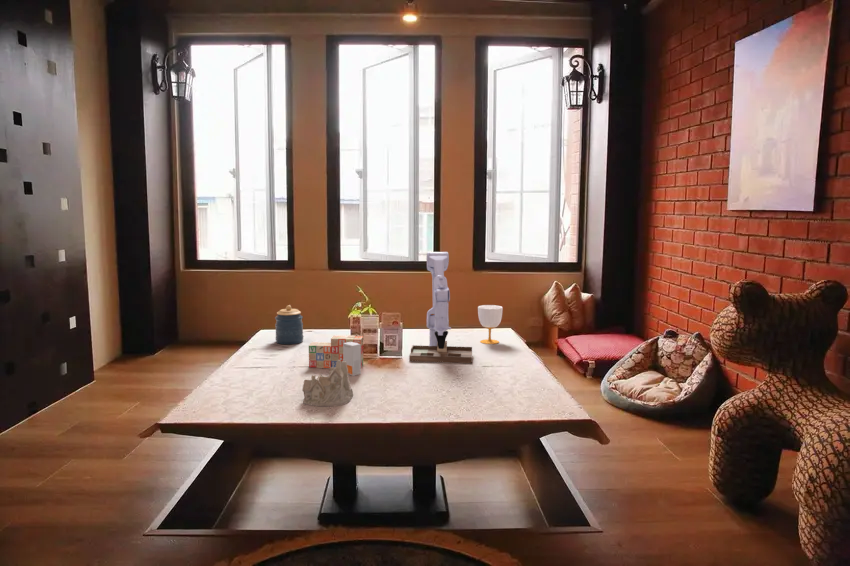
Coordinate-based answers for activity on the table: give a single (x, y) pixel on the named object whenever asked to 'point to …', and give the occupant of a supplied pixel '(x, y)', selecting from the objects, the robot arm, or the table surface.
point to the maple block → (442, 349)
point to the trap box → (441, 354)
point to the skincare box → (352, 357)
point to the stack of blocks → (331, 351)
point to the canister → (289, 326)
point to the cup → (490, 319)
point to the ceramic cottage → (329, 387)
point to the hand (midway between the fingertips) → (441, 348)
